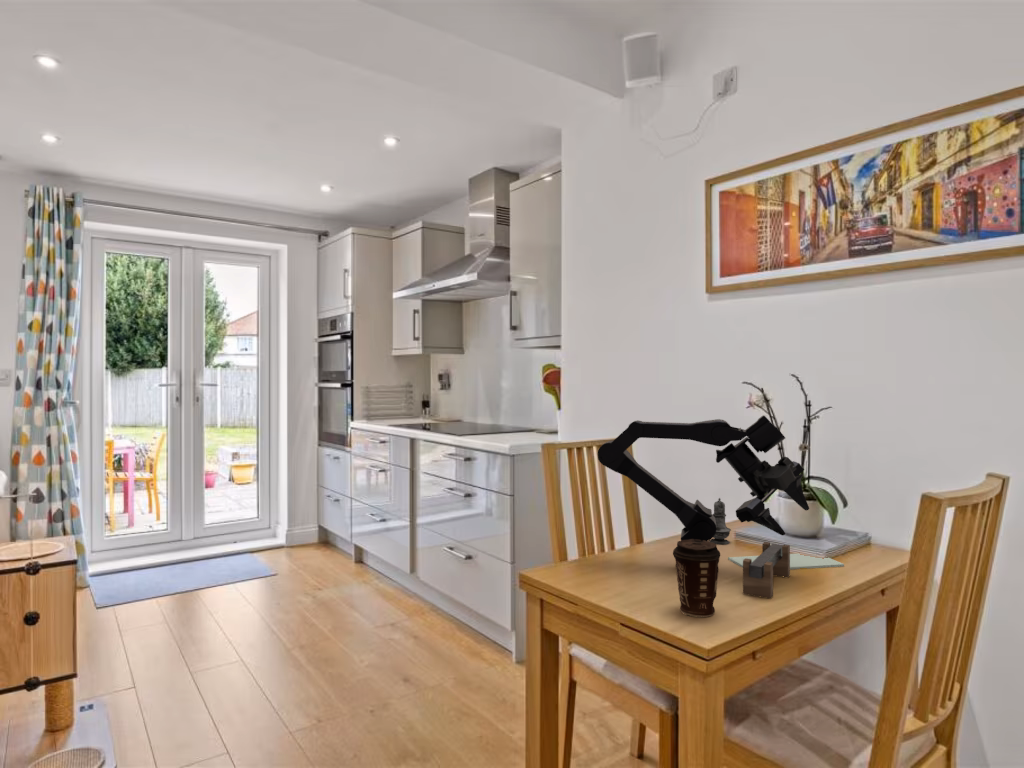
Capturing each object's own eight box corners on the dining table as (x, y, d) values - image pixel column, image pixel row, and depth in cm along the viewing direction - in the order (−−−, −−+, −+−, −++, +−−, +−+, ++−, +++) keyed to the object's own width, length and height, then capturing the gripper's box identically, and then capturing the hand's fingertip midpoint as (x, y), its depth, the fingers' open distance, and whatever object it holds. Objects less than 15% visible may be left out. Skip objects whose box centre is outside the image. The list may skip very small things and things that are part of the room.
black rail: (761, 578, 126) (761, 566, 126) (749, 576, 127) (749, 564, 127) (783, 555, 142) (783, 545, 142) (772, 554, 143) (772, 543, 143)
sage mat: (750, 571, 143) (750, 569, 143) (728, 559, 153) (728, 557, 153) (844, 566, 147) (844, 564, 147) (816, 554, 157) (816, 552, 157)
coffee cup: (698, 600, 125) (698, 535, 125) (730, 614, 118) (730, 545, 117) (664, 608, 121) (664, 541, 121) (696, 623, 113) (696, 551, 113)
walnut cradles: (770, 598, 126) (770, 565, 126) (742, 593, 129) (742, 560, 129) (789, 575, 140) (789, 545, 140) (764, 571, 144) (764, 541, 143)
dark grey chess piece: (727, 539, 172) (727, 496, 172) (733, 545, 166) (733, 500, 166) (706, 539, 173) (706, 495, 172) (710, 544, 167) (710, 499, 167)
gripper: (742, 480, 130) (794, 542, 127) (794, 432, 138) (844, 489, 135) (715, 493, 140) (762, 550, 137) (764, 447, 148) (810, 500, 145)
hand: (796, 522), depth 138 cm, fingers open, 9 cm apart
